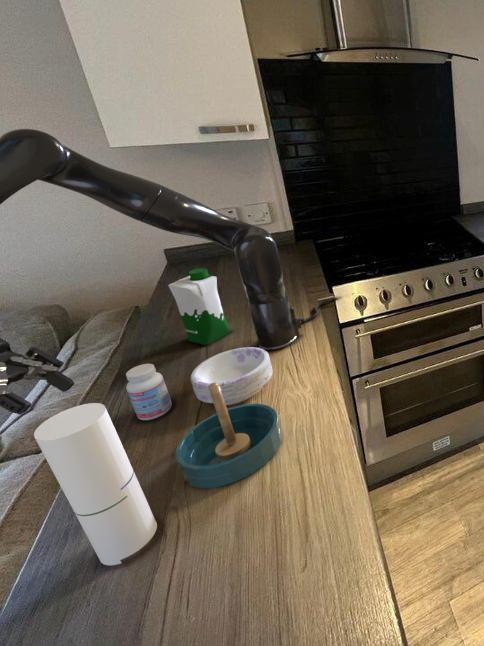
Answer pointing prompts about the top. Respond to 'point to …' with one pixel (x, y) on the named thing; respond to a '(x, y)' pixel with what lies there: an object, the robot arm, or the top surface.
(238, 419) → the bowl
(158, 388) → the pill bottle
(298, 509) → the top surface
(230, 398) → the paper bowls
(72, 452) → the cylindrical container
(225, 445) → the wooden peg on disc
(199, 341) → the milk carton
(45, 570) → the top surface
